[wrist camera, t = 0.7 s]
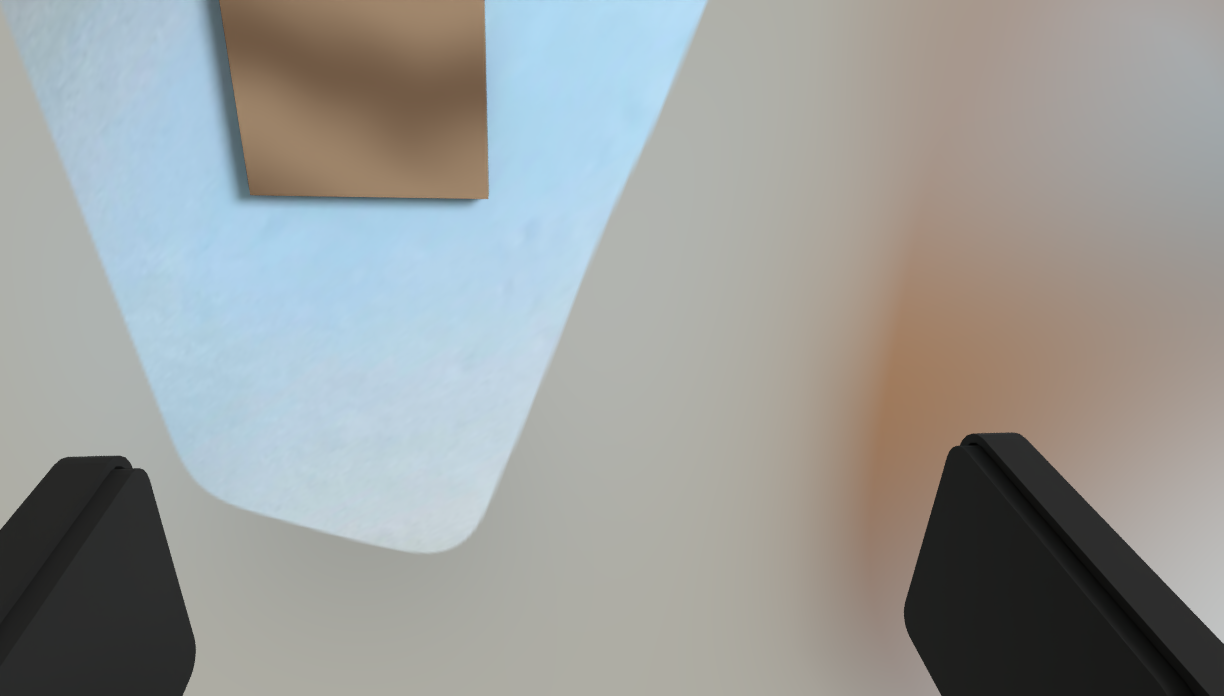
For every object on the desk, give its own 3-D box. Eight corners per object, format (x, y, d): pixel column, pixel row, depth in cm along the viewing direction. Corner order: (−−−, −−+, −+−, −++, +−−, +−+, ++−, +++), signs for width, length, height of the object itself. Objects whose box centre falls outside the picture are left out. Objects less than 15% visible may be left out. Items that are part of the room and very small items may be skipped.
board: (210, -103, 27) (202, -104, 26) (482, -88, 28) (481, -88, 28) (256, 189, 32) (250, 195, 31) (488, 192, 33) (488, 199, 32)
